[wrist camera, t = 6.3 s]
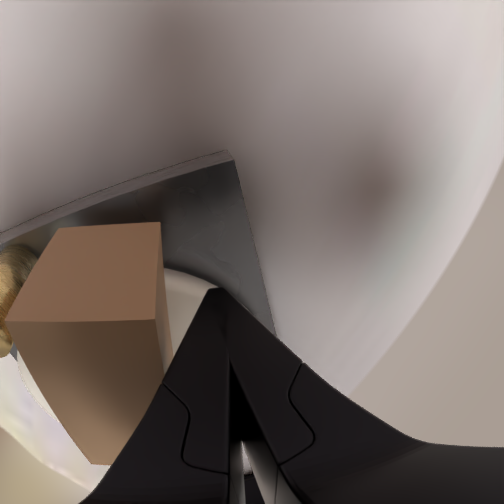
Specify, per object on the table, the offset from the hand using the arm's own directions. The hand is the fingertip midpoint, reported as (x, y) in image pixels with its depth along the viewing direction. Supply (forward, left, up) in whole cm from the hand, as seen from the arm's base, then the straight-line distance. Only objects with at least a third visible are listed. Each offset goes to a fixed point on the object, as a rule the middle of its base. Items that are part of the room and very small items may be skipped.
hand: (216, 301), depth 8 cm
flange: (-4, +4, -3) cm, 7 cm away
